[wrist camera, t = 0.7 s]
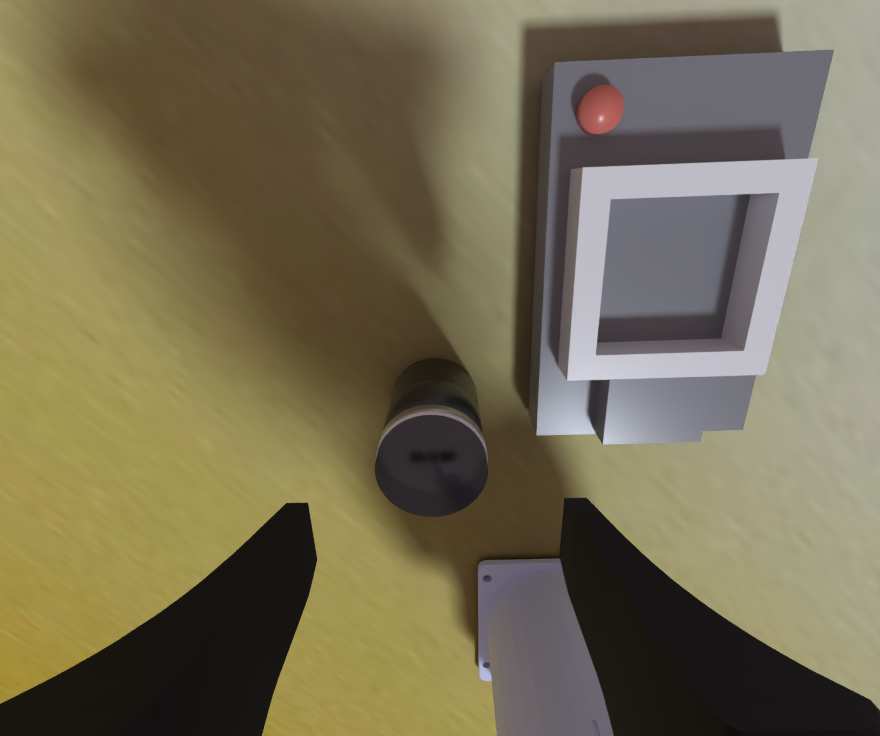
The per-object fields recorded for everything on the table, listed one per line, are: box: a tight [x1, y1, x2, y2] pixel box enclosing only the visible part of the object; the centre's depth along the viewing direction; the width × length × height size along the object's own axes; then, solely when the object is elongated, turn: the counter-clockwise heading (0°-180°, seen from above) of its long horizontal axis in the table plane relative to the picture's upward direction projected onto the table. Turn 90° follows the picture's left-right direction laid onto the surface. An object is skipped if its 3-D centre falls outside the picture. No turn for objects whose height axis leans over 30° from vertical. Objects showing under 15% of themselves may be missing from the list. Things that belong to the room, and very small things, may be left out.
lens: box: [375, 359, 488, 517], centre depth 19 cm, size 4×4×6 cm
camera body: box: [529, 50, 834, 444], centre depth 18 cm, size 14×9×4 cm, turn 2°
